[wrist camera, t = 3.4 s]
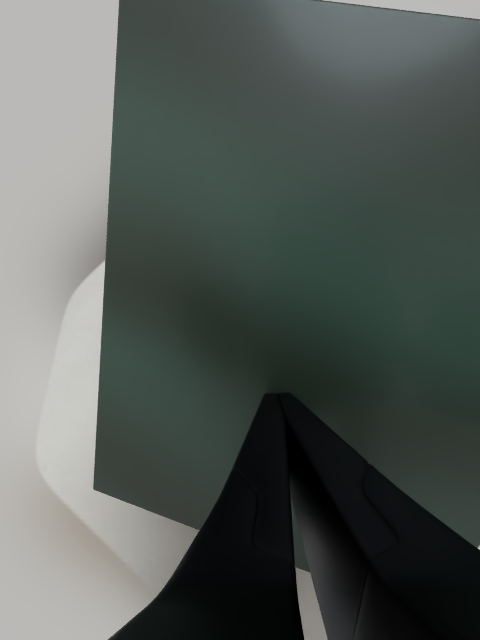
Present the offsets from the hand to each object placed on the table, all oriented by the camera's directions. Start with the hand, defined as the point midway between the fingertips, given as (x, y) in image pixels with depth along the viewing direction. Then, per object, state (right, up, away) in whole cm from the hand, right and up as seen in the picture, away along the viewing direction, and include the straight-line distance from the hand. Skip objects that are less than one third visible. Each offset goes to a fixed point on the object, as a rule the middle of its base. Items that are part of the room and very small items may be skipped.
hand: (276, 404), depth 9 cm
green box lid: (+1, +1, 0) cm, 2 cm away
